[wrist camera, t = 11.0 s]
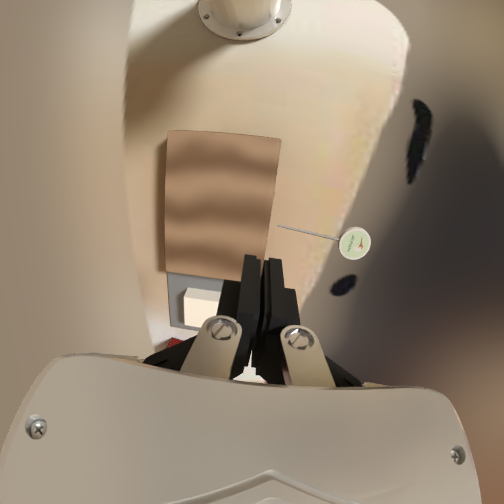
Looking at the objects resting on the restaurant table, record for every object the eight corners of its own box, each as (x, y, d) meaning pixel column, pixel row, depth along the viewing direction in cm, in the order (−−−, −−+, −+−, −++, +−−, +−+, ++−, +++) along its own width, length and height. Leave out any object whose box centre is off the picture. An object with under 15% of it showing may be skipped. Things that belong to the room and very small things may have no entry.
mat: (167, 260, 43) (167, 261, 42) (266, 273, 43) (266, 274, 43) (171, 325, 49) (171, 326, 49) (255, 337, 49) (255, 338, 49)
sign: (281, 209, 38) (375, 233, 39) (281, 207, 39) (373, 231, 39) (273, 242, 40) (363, 262, 41) (273, 239, 41) (362, 260, 42)
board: (177, 130, 34) (168, 130, 30) (279, 138, 34) (281, 140, 30) (173, 258, 43) (165, 271, 39) (260, 269, 43) (260, 283, 39)
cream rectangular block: (184, 324, 45) (188, 314, 47) (236, 332, 45) (238, 322, 47) (183, 297, 42) (187, 287, 44) (240, 304, 42) (241, 294, 45)
